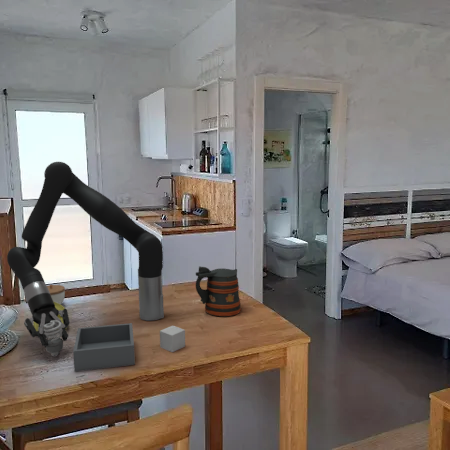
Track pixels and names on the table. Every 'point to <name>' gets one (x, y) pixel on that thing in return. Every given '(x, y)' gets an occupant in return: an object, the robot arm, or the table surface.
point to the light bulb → (53, 343)
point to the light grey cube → (172, 338)
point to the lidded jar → (57, 293)
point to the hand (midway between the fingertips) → (56, 342)
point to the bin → (104, 347)
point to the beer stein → (219, 291)
